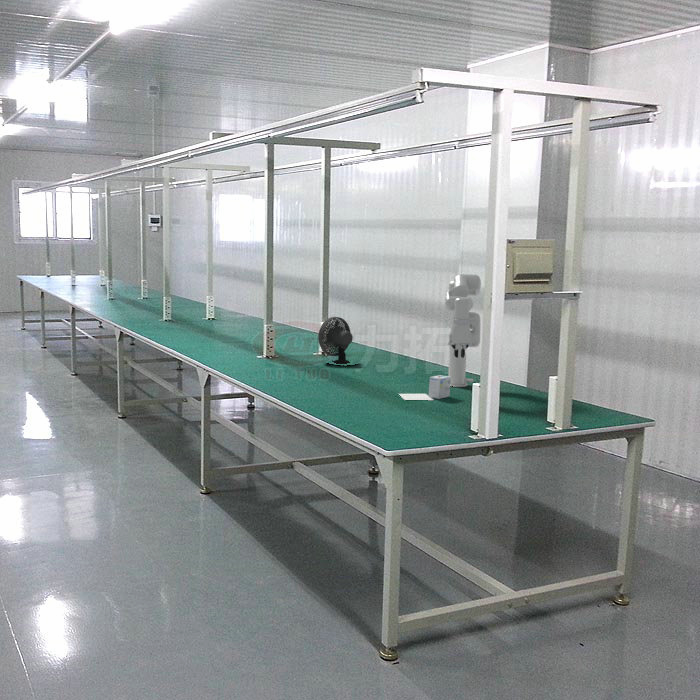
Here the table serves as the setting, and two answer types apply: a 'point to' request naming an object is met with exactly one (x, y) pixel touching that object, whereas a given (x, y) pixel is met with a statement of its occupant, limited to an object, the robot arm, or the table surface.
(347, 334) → the fan
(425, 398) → the mat
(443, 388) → the light bulb box
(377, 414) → the table surface
